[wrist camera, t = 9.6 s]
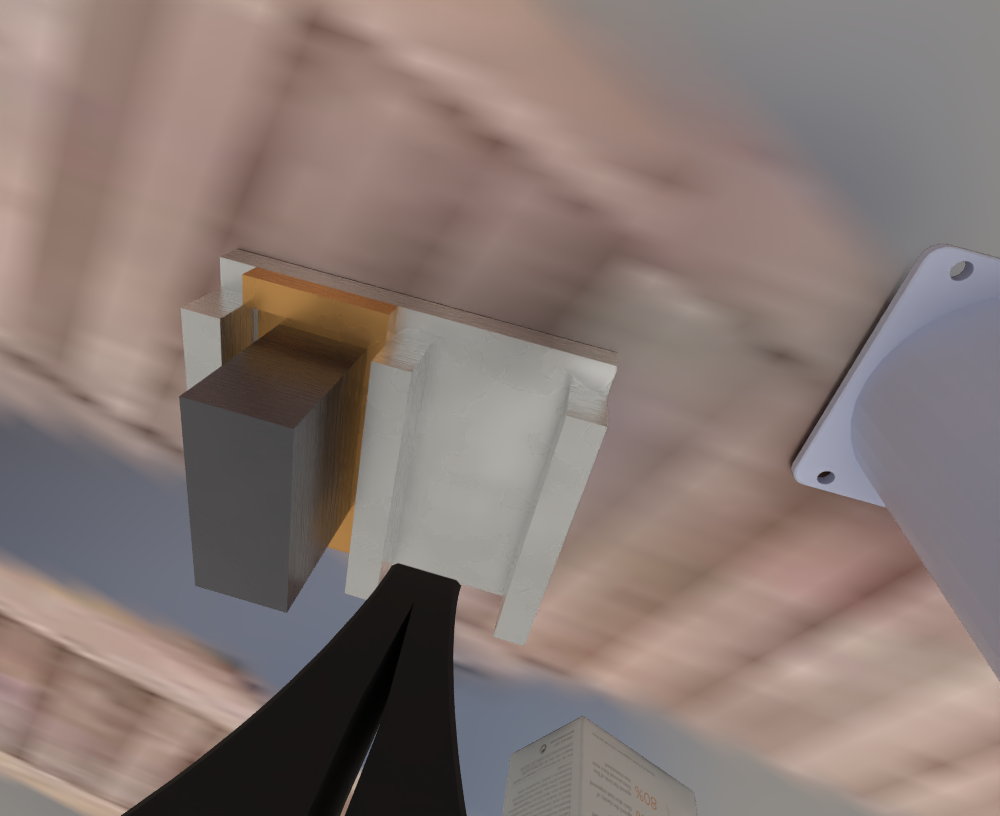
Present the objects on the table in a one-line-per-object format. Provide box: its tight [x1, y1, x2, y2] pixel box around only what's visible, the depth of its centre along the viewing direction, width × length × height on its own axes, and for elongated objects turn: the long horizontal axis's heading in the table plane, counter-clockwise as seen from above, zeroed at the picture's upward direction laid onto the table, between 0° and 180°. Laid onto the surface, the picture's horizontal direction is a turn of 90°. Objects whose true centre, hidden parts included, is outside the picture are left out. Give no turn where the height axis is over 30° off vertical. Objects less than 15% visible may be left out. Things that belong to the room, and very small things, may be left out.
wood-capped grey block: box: [179, 324, 367, 613], centre depth 18 cm, size 3×7×5 cm, turn 168°
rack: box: [181, 249, 618, 646], centre depth 20 cm, size 13×11×3 cm
